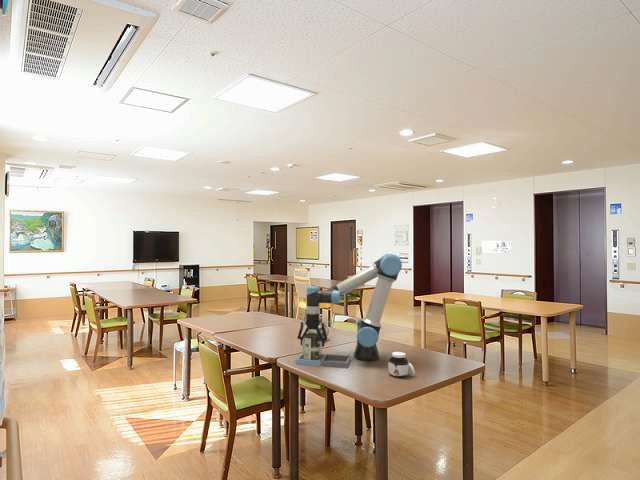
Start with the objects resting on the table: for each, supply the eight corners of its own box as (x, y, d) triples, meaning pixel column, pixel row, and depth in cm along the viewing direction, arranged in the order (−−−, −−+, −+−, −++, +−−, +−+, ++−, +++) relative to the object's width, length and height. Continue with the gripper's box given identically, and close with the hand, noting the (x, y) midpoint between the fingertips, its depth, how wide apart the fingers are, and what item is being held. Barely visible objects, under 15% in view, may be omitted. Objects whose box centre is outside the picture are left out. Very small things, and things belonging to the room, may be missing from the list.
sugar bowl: (333, 342, 287) (334, 321, 287) (313, 344, 281) (314, 322, 282) (322, 336, 305) (323, 316, 305) (303, 338, 300) (304, 317, 300)
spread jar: (386, 375, 217) (386, 352, 217) (398, 370, 224) (398, 349, 225) (405, 380, 208) (405, 357, 208) (417, 376, 216) (418, 353, 216)
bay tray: (350, 360, 243) (350, 355, 243) (347, 368, 228) (347, 363, 228) (302, 357, 248) (302, 352, 248) (296, 364, 234) (296, 359, 234)
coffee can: (322, 357, 243) (322, 333, 244) (319, 362, 233) (319, 337, 234) (305, 356, 246) (305, 332, 246) (301, 360, 235) (301, 336, 236)
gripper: (333, 313, 241) (332, 351, 241) (295, 311, 246) (294, 348, 245) (330, 315, 234) (330, 354, 234) (292, 313, 238) (291, 352, 238)
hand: (312, 351), depth 239 cm, fingers closed on coffee can, 10 cm apart
